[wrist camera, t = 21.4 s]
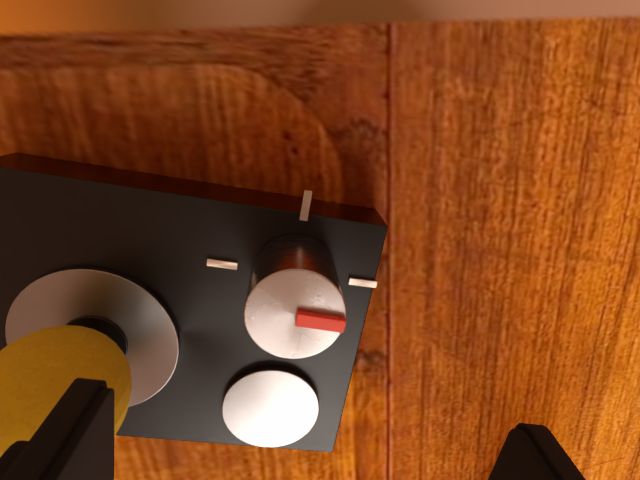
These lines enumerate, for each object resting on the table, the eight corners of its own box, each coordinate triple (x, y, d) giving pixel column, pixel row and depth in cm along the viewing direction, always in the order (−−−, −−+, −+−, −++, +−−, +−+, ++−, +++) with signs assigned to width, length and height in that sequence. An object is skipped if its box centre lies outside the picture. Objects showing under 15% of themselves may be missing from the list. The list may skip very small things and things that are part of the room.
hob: (14, 129, 20) (-35, 136, 17) (382, 189, 22) (396, 205, 19) (31, 387, 24) (-5, 428, 21) (329, 414, 27) (334, 455, 24)
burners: (4, 254, 18) (-4, 258, 18) (342, 297, 20) (344, 302, 20) (17, 422, 22) (11, 429, 21) (310, 445, 24) (310, 452, 23)
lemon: (178, 342, 20) (112, 492, 13) (108, 409, 21) (9, 585, 14) (80, 270, 18) (-62, 394, 11) (9, 347, 20) (-164, 507, 12)
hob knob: (246, 303, 20) (235, 356, 16) (259, 226, 19) (251, 264, 15) (325, 315, 21) (334, 369, 17) (343, 241, 19) (358, 281, 15)
